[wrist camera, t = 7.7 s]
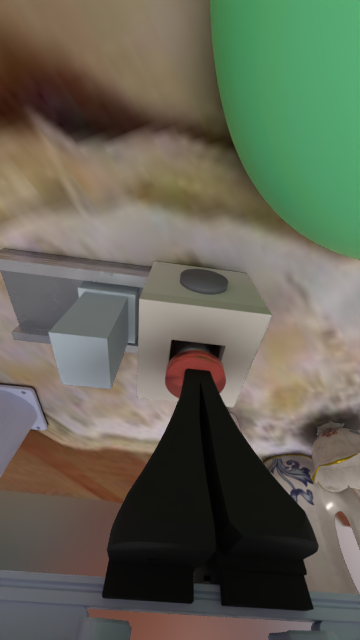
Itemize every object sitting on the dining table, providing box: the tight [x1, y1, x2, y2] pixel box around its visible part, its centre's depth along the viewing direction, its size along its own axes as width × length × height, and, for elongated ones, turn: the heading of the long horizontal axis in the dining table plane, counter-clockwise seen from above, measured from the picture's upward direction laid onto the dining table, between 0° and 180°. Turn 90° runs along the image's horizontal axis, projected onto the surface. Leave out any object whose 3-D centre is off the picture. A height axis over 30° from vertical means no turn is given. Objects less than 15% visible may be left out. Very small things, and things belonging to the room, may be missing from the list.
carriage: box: [48, 281, 139, 389], centre depth 15 cm, size 4×4×6 cm
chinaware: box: [263, 421, 360, 594], centre depth 26 cm, size 28×17×17 cm, turn 135°
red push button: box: [165, 340, 226, 398], centre depth 14 cm, size 3×3×5 cm
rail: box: [0, 248, 152, 353], centre depth 17 cm, size 11×7×2 cm, turn 83°
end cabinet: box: [137, 261, 272, 408], centre depth 16 cm, size 7×8×6 cm
